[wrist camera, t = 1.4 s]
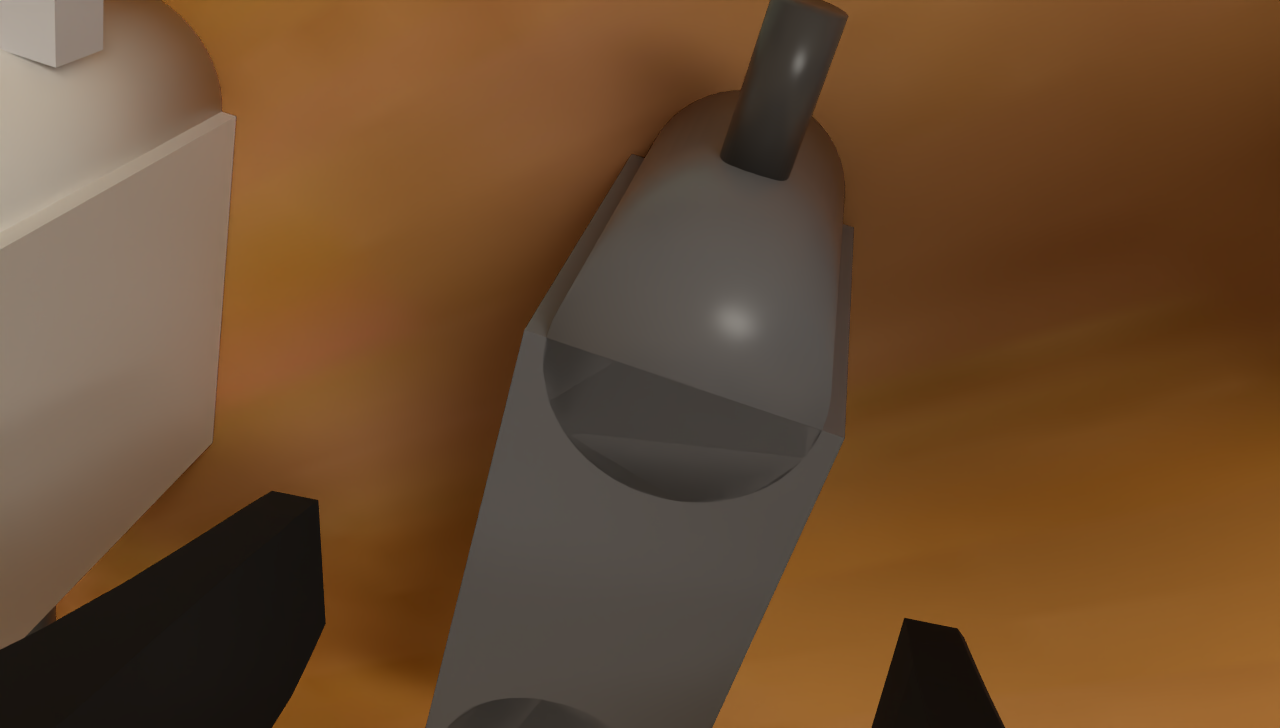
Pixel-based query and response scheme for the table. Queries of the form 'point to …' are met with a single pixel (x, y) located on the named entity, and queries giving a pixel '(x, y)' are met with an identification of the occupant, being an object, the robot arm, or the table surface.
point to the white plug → (102, 280)
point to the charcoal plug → (667, 418)
